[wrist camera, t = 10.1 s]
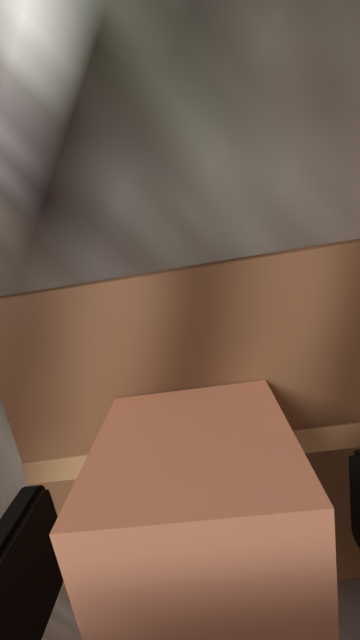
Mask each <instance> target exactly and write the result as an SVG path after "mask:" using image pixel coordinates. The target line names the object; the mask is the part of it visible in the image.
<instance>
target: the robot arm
mask: <svg viewBox="0 0 360 640" xmlns="http://www.w3.org/2000/svg"><path fill="white" fill-rule="evenodd" d="M349 483H350V510H351V529H352V533H353V537H354V539H355V541H356V543H357V545H358V547H359V549H360V449H357V450H355V451H354V455H352V456H349ZM57 518H58V516H57V513H56V510H55V507H54V503H53V500H52V497H51V494H50V491H49V490H47V489H46V490H45V487H44V486H43V485H37V486H28V487H23V488H22V489H21V490H20V491H19V493H18V494H17V496H16V497H15V498H14V500H13V501H12V503H11V504H10V506H9V507H8V509H7V510H6V512H5V513H4V514H3V516H2V517H1V519H0V640H41V639H42V636H43V634H44V631H45V628H46V626H47V623H48V620H49V618H50V615H51V612H52V610H53V607H54V604H55V602H56V599H57V597H58V594H59V591H60V589H61V586H62V583H63V581H64V580H63V577H62V574H61V571H60V568H59V565H58V561H57V558H56V555H55V552H54V549H53V545H52V542H51V539H50V536H49V534H50V532H51V530H52V528H53V526H54V524H55V522H56V520H57Z"/></svg>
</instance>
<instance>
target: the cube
mask: <svg viewBox="0 0 360 640" xmlns="http://www.w3.org/2000/svg"><path fill="white" fill-rule="evenodd" d="M49 536H50V539H51V542H52V545H53V549H54V552H55V555H56V558H57V561H58V565H59V568H60V571H61V574H62V577H63V580H64V584H65V587H66V590H67V593H68V596H69V599H70V603H71V606H72V609H73V612H74V615H75V618H76V622H77V625H78V628H79V631H80V634H81V638H82V640H339V616H338V592H337V568H336V543H335V519H334V507H333V506H332V504H331V502H330V500H329V498H328V496H327V494H326V492H325V491H324V489H323V487H322V485H321V483H320V481H319V479H318V477H317V476H316V474H315V472H314V470H313V468H312V466H311V464H310V462H309V461H308V459H307V457H306V455H305V453H304V451H303V449H302V447H301V446H300V444H299V442H298V440H297V438H296V436H295V434H294V432H293V431H292V429H291V427H290V425H289V423H288V421H287V419H286V417H285V416H284V414H283V412H282V410H281V408H280V406H279V404H278V402H277V401H276V399H275V397H274V395H273V393H272V391H271V389H270V387H269V386H268V384H267V382H266V380H261V381H253V382H245V383H237V384H229V385H221V386H213V387H205V388H196V389H188V390H180V391H172V392H164V393H156V394H148V395H140V396H131V397H123V398H115V400H114V402H113V404H112V406H111V408H110V410H109V412H108V414H107V417H106V419H105V421H104V423H103V425H102V427H101V429H100V431H99V433H98V435H97V437H96V439H95V441H94V443H93V445H92V447H91V450H90V452H89V454H88V456H87V458H86V460H85V462H84V464H83V466H82V468H81V470H80V472H79V474H78V476H77V478H76V480H75V483H74V485H73V487H72V489H71V491H70V493H69V495H68V497H67V499H66V501H65V503H64V505H63V507H62V509H61V511H60V513H59V516H58V518H57V520H56V522H55V524H54V526H53V528H52V530H51V532H50V534H49Z"/></svg>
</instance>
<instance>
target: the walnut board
mask: <svg viewBox="0 0 360 640" xmlns="http://www.w3.org/2000/svg"><path fill="white" fill-rule="evenodd" d="M261 380H266V382H267V384H268V386H269V387H270V389H271V391H272V393H273V395H274V397H275V399H276V401H277V402H278V404H279V406H280V408H281V410H282V412H283V414H284V416H285V417H286V419H287V421H288V423H289V425H290V427H291V429H292V431H293V432H294V434H295V436H296V438H297V440H298V442H299V444H300V446H301V447H302V449H303V451H304V453H305V455H306V457H307V459H308V461H309V462H310V464H311V466H312V468H313V470H314V472H315V474H316V476H317V477H318V479H319V481H320V483H321V485H322V487H323V489H324V491H325V492H326V494H327V496H328V498H329V500H330V502H331V504H332V506H333V507H334V519H335V543H336V568H337V580H344V579H357V578H360V549H359V547H358V545H357V543H356V541H355V539H354V537H353V533H352V529H351V510H350V483H349V456H352V455H354V451H355V450H357V449H360V239H355V240H349V241H342V242H336V243H330V244H324V245H317V246H311V247H305V248H299V249H292V250H286V251H280V252H274V253H268V254H261V255H255V256H249V257H243V258H236V259H230V260H224V261H218V262H212V263H205V264H199V265H193V266H187V267H180V268H174V269H168V270H162V271H156V272H149V273H143V274H137V275H131V276H124V277H118V278H112V279H106V280H99V281H93V282H87V283H81V284H75V285H68V286H62V287H56V288H50V289H43V290H37V291H31V292H25V293H19V294H12V295H6V296H0V396H1V399H2V403H3V406H4V409H5V412H6V415H7V418H8V421H9V424H10V427H11V430H12V433H13V436H14V439H15V442H16V445H17V448H18V451H19V454H20V457H21V460H22V463H21V464H22V467H23V470H24V473H25V476H26V480H27V483H28V485H30V486H37V485H43V486H44V487H45V490H46V489H47V490H49V491H50V494H51V497H52V500H53V503H54V507H55V510H56V513H57V516H59V513H60V511H61V509H62V507H63V505H64V503H65V501H66V499H67V497H68V495H69V493H70V491H71V489H72V487H73V485H74V483H75V480H76V478H77V476H78V474H79V472H80V470H81V468H82V466H83V464H84V462H85V460H86V458H87V456H88V454H89V452H90V450H91V447H92V445H93V443H94V441H95V439H96V437H97V435H98V433H99V431H100V429H101V427H102V425H103V423H104V421H105V419H106V417H107V414H108V412H109V410H110V408H111V406H112V404H113V402H114V400H115V398H123V397H131V396H140V395H148V394H156V393H164V392H172V391H180V390H188V389H196V388H205V387H213V386H221V385H229V384H237V383H245V382H253V381H261ZM62 585H63V588H64V591H65V594H66V597H67V600H68V602H70V599H69V596H68V593H67V590H66V587H65V584H64V581H63V583H62Z"/></svg>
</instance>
